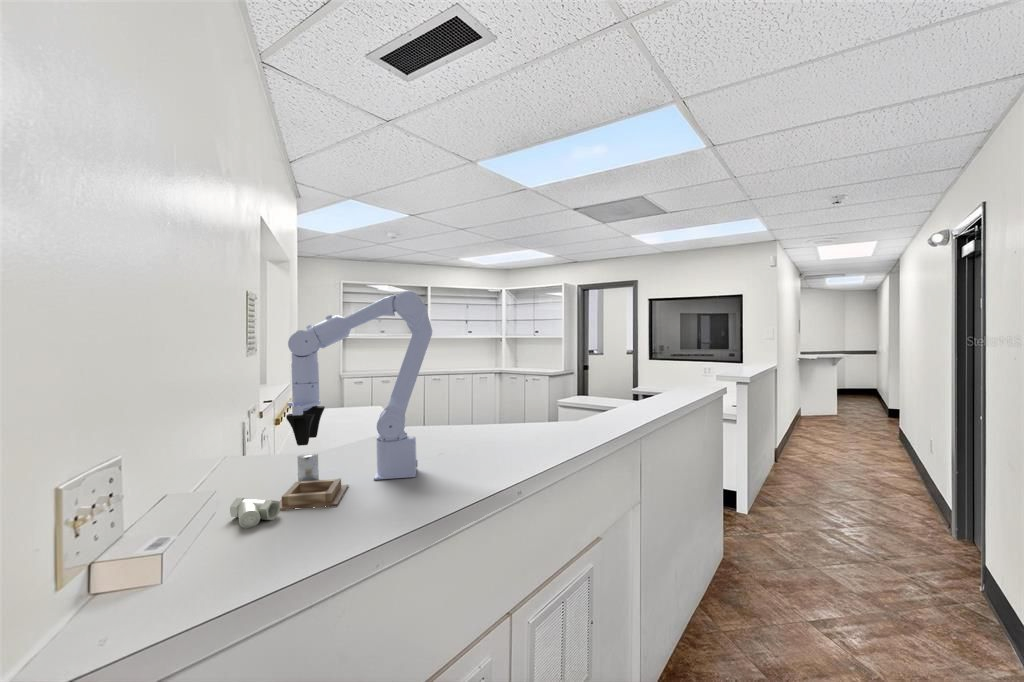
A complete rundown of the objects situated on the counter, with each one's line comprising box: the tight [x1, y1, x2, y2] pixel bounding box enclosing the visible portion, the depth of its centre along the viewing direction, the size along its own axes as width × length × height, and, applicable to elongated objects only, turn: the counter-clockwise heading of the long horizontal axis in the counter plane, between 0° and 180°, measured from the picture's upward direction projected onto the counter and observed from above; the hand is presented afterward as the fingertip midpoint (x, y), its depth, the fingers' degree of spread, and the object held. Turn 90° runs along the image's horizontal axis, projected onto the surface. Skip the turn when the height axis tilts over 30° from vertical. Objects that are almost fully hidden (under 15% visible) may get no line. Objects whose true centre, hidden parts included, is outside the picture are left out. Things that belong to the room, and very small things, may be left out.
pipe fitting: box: [229, 497, 281, 529], centre depth 86 cm, size 8×4×7 cm
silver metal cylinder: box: [297, 452, 320, 482], centre depth 109 cm, size 4×4×6 cm
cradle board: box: [278, 478, 349, 512], centre depth 98 cm, size 12×12×3 cm
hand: (307, 441), depth 109 cm, fingers open, 7 cm apart
